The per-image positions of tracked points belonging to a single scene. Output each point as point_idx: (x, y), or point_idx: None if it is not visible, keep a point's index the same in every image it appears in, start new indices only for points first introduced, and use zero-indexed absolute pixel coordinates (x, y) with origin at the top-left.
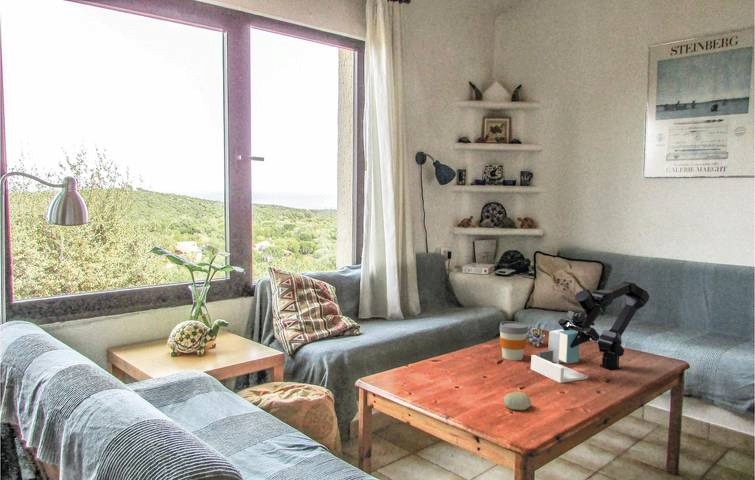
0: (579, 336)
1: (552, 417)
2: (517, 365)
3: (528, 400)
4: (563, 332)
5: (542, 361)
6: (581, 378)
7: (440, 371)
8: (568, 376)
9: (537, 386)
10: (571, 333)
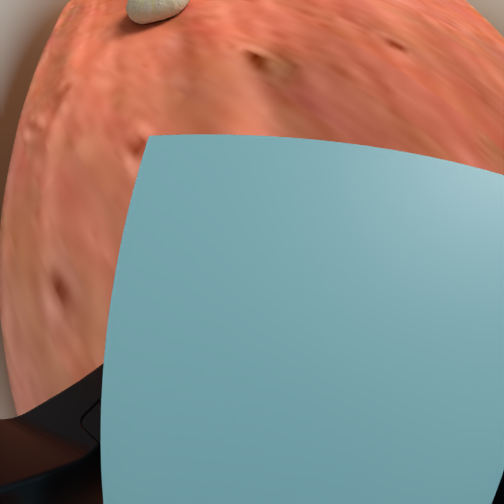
0: (32, 414)
1: (76, 46)
2: None
3: (128, 5)
4: (387, 166)
5: None
6: None
7: (447, 17)
8: None
9: (237, 104)
10: (151, 320)
